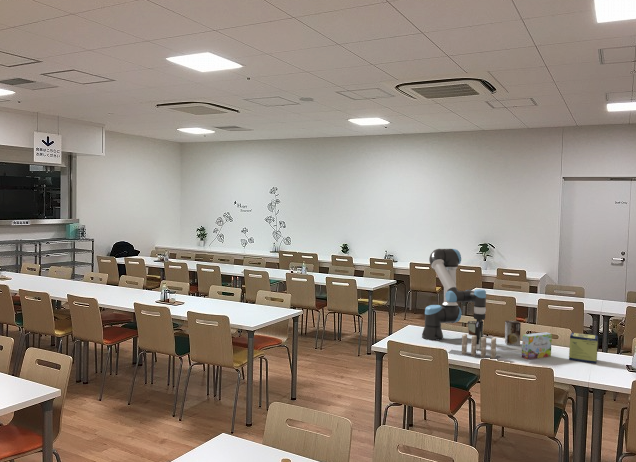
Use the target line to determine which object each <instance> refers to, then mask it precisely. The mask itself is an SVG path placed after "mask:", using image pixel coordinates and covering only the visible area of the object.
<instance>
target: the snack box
mask: <svg viewBox="0 0 636 462" xmlns="http://www.w3.org/2000/svg"><path fill="white" fill-rule="evenodd" d="M552 340H553V334H552V333H550V332H546V331H545V332H544V331H543V332H537V333H536V332H535V333H527V334H522V343H521V358H522V359H525V360H534V359H542V358H549V357H550V358H551V357H552V342H553V341H552Z"/></svg>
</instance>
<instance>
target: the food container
mask: <svg viewBox="0 0 636 462" xmlns="http://www.w3.org/2000/svg"><path fill="white" fill-rule="evenodd" d="M476 322H477V320H468V321H467V322H466V324H467V329H468V330H467V332H468V335H469V336H473V335H475V324H476Z"/></svg>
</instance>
